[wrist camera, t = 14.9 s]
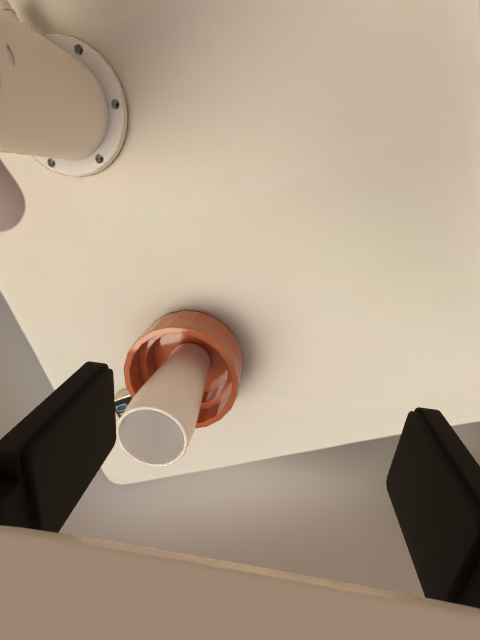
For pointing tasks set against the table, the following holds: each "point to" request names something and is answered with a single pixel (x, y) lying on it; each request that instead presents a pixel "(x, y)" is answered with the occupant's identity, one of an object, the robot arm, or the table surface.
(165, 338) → the bowl
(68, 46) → the robot arm
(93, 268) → the table surface
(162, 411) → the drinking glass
